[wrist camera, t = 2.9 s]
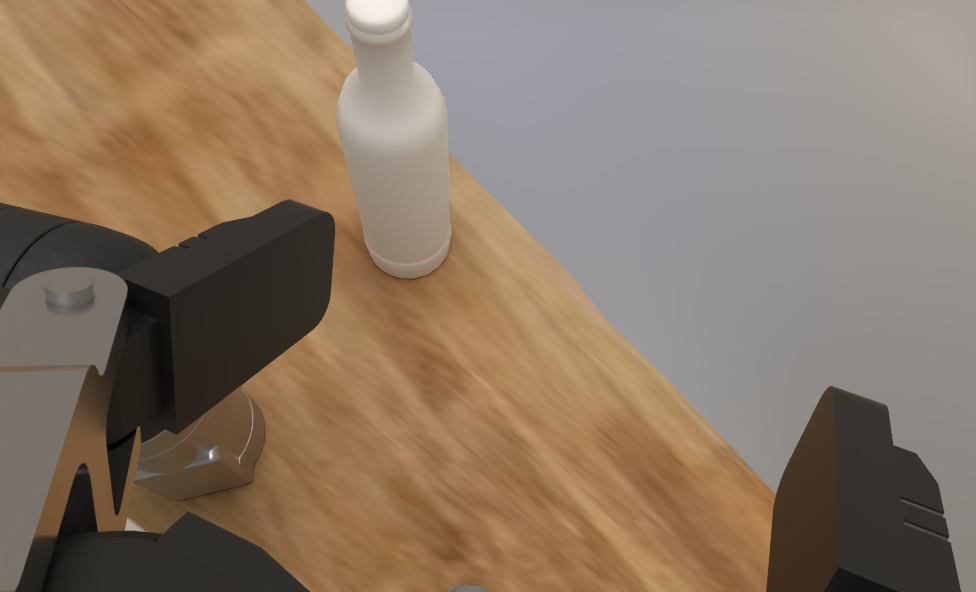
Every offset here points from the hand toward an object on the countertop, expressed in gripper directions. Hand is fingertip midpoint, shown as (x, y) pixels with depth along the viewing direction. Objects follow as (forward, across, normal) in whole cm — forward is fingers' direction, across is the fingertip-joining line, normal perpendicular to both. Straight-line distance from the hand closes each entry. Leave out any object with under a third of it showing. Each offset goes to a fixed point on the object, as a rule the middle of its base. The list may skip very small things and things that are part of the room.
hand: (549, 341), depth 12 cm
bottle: (+47, -24, -25) cm, 59 cm away
